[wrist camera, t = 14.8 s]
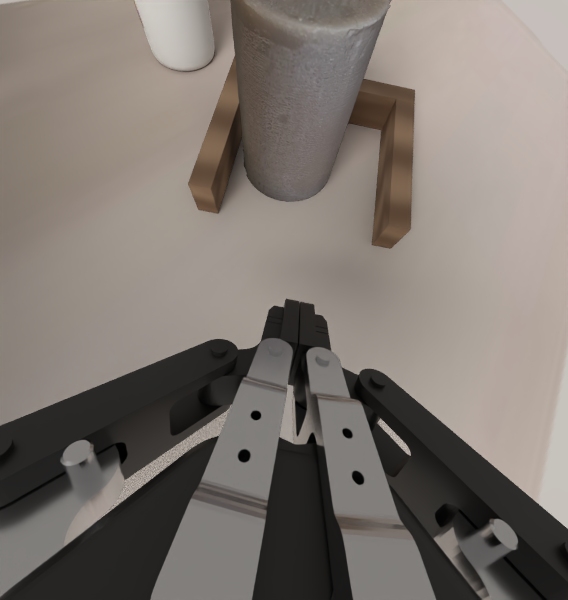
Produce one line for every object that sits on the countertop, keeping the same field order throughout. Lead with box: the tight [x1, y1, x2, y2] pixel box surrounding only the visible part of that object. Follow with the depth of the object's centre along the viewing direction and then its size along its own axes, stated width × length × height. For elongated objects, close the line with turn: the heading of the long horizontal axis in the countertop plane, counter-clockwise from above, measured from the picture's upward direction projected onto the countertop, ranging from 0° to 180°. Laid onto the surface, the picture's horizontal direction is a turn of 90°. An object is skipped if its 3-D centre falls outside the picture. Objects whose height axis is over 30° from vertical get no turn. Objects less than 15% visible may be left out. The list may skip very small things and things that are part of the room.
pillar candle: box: [231, 0, 391, 201], centre depth 20 cm, size 10×10×15 cm
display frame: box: [188, 57, 415, 248], centre depth 25 cm, size 18×20×4 cm
